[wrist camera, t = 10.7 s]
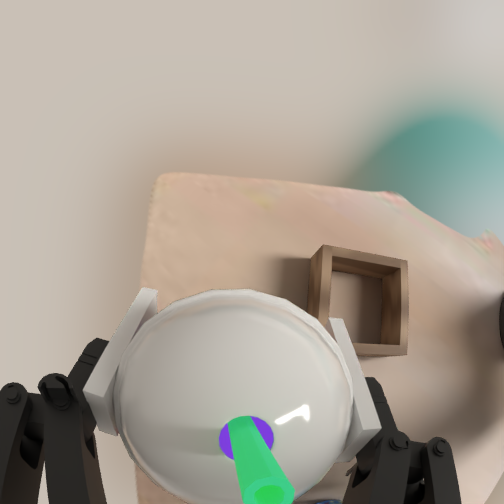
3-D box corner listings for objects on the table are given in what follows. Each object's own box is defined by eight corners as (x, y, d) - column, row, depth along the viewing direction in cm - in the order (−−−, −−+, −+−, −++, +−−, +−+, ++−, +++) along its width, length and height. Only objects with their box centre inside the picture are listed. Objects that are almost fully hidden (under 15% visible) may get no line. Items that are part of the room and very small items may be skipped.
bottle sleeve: (310, 258, 38) (323, 244, 34) (388, 271, 39) (407, 260, 35) (302, 351, 34) (315, 350, 29) (386, 356, 35) (406, 354, 30)
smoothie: (188, 315, 23) (84, 138, 4) (288, 341, 23) (506, 266, 4) (161, 411, 19) (-1, 545, 1) (263, 437, 20) (399, 609, 1)
